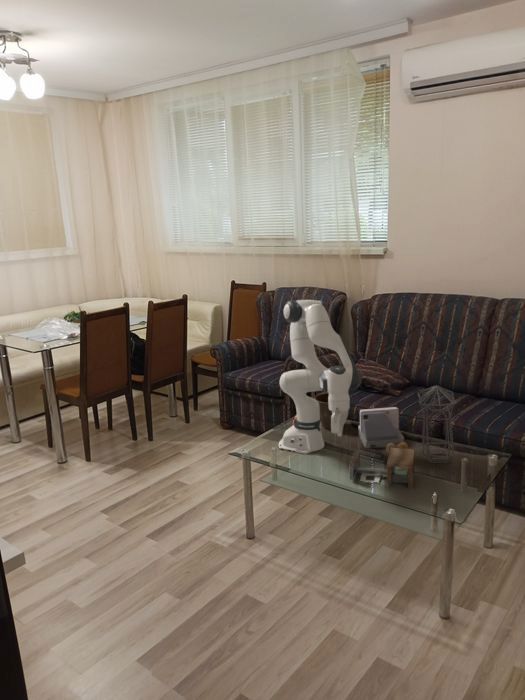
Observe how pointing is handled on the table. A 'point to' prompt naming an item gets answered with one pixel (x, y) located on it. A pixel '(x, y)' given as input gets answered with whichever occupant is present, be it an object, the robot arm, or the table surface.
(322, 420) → the plant pot
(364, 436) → the instant camera
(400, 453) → the tunnel
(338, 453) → the table surface
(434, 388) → the geometric lantern
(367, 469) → the sled collar
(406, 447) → the lion figurine
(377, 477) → the pit board
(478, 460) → the table surface
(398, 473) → the block
